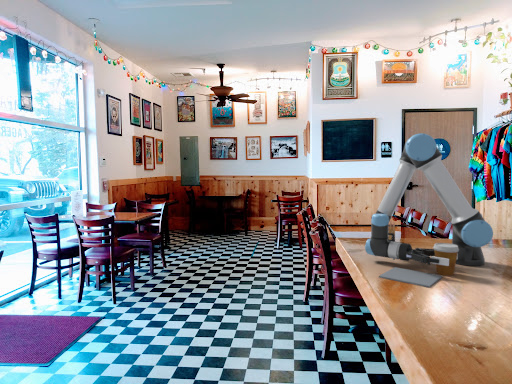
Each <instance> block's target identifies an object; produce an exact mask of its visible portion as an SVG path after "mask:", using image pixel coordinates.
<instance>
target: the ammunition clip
mask: <svg viewBox="0 0 512 384" xmlns="http://www.w3.org/2000/svg"><path fill="white" fill-rule="evenodd" d="M388 241H392V242H396V224H395V221H393V222H392V221H391V220H390V222H389V230H388Z"/></svg>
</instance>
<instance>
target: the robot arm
mask: <svg viewBox="0 0 512 384" xmlns="http://www.w3.org/2000/svg"><path fill="white" fill-rule="evenodd" d="M442 154H443V153H441V151H440V149H439V147H438V146H437V143H436V140H435V139H434V138H433V137H432V135H429V134H427V133H415V134H413V135H411V137H409V138H407V140H406V141H405V142H404V146H403V151H402V154H401V156H400V158H399V164H398V167H397V169H396V171H395V173H394V174H393V177H392V180H391V181H390V183H389V185H388V187H387V190H386V191H385V193H384V195H383V198H382V200H381V202H380V203H379V205H378V208H377V209H376V212H375V213H373V214H372V215H371V220H370V221H371V223H370V225H371V226H370V227H371V230H370V231H371V236H370V238H367V240H366V242H365V245H364V248H365V252H366V253H367V255H371V256H375V257H382V258H387V259H388V258H389V259H392V260H393V261H395V260H399V261H405V262H409V261H410V260H412V261H415V262H419V263H422V264H424V265H427V266H431V264H433V265H436V264H439V265H445V266H449V259H446V258H440V257H435V251H434V248H422V247H416V248H414V249H413V248H412V244H410V243H405V242H398V241H395V242H392V241H388V230H389V226H390V221H391V219H392V217H393V215H394V213H395V212H396V209H397V207H398V205H399V203H400V202H401V199H402V197H403V196H404V193H405V192H406V189H407V187H408V185H409V184H410V181H411V180H412V178H413V176H414V174H415V171H416V170H418V171H421V172H422V173H423V174H424V176H425V178H426V179H427V180H428V183H429V184H430V185H431V188H432V189H433V190H434V192H435V193H436V195H437V196H438V198H439V200H440V201H441V202H442V204H443V205H444V207H445V208H446V210H447V211H448V214H450V216H451V222H450V223H451V225H452V239H451V244H455V245H457V246H458V249H459V250H458V253H457V259H456V264H455V265H462V266H470V267H481V266H484V265H485V264H486V263H485V262H486V260H485V255H484V252H483V250H482V247H484V246H487V245H489V244H490V242H491V241H492V240H493V236H494V231H493V228H492V226H491V224H490V223H488V222H487V221H486V220H485V218H484V217H483V214H482V213H481V212H480V211H479V210H478V209H476V208H473V207H472V205H471V204H470V203H469V202H468V199H467V198H466V196H464V194H463V192H462V190H461V189H460V188H459V186H458V184H457V183H456V181H455V179H454V178H453V177H452V175H451V174H450V171H448V169H447V167H446V166H445V165H444V163H443V161H442V157H443V155H442Z"/></svg>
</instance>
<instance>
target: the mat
mask: <svg viewBox="0 0 512 384" xmlns="http://www.w3.org/2000/svg"><path fill="white" fill-rule="evenodd" d="M378 278H381V279H386V280H391V281H396V282H400V283H404V284H410V285H415V286H419V287H424V288H431V287H432V286H433V285H434V284H436V283H437V282H438V281H439V280H441V279H442V278H443V275H440V274H437V273H435V274H434V273H429V272H425V271H424V272H423V271H419V270H414V269H407V268H402V267H401V268H400V267H396V266H395V267H393V268H391V269H388V270H387V271H385V272H383V273H382V274H380V275H378Z"/></svg>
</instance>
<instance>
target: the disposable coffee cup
mask: <svg viewBox="0 0 512 384" xmlns="http://www.w3.org/2000/svg"><path fill="white" fill-rule="evenodd" d="M432 249H434V251H435V256H434V257H440V258H446V259H449V266H445V265H439V264H435V271H436V275H441V276H446V277H447V276H448V277H451V276H454V275H455V270H456V269H455V268H456V265H457V264H456V259H457V253H458V250H459V249H458V246H457V245H455V244H452V243H448V242H436V243H434V245H433V247H432Z"/></svg>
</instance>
